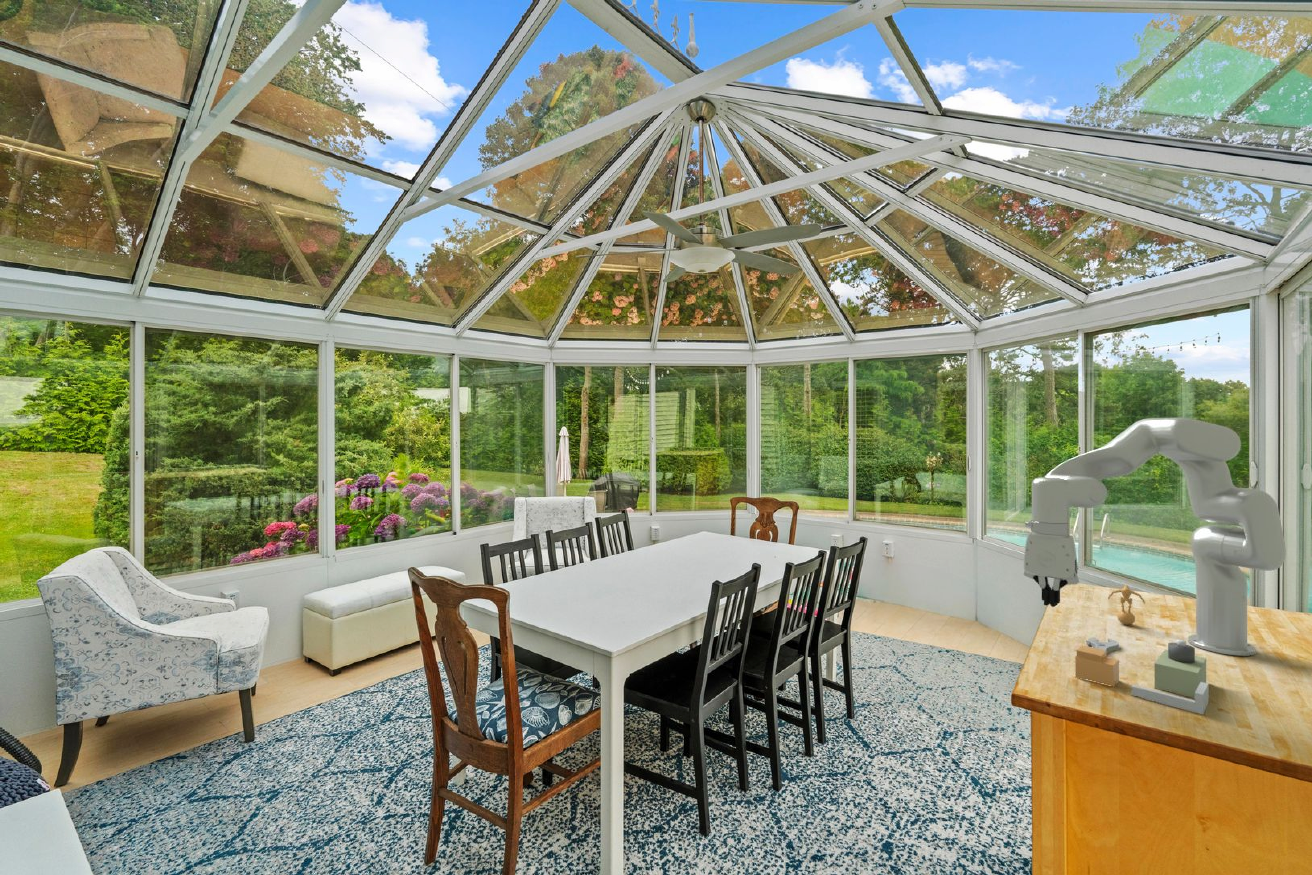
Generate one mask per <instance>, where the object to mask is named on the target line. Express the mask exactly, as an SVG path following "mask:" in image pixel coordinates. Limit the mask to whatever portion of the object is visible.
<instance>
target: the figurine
mask: <svg viewBox="0 0 1312 875" xmlns="http://www.w3.org/2000/svg"><path fill="white" fill-rule="evenodd" d="M1116 593H1121V594H1122V596H1120V598H1119V600H1120V603H1121V611H1119V612H1118V614H1117V620H1118V621H1119V622H1120V623H1121V624H1122V625H1125V626H1130V625H1134V623H1135V622H1136V617H1135V615H1134V614H1133V612H1131V609H1132V605H1133V598H1132V597H1131V595H1132V594H1133V595H1135V596H1138V597H1139V599H1140V600H1141V601H1142V602H1143V604H1144V605H1146V601H1145V599H1144V598H1143V597H1142V595H1141V594H1139V593H1137V592H1136V591H1134V590H1131V589H1130V587H1129V585H1128V584H1124V586H1123V588H1121V589H1117V590H1113V591H1112V592H1111V593H1110V594H1109V595H1108V597H1107V599H1108V600H1110V598H1111V597H1112V596H1114V594H1116ZM1126 602H1127V603H1128V610H1125V603H1126Z"/></svg>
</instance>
